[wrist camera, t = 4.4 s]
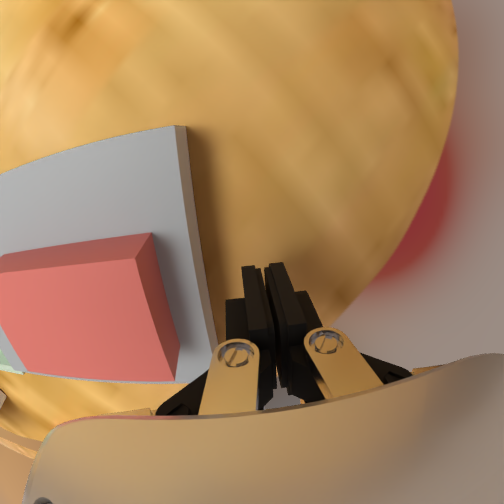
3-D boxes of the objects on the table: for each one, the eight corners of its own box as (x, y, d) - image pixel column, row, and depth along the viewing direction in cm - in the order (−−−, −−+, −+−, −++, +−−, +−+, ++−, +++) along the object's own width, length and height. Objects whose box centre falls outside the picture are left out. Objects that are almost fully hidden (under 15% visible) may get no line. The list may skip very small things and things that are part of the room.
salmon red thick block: (3, 254, 11) (-23, 275, 8) (151, 232, 11) (134, 258, 9) (43, 344, 13) (27, 371, 11) (180, 345, 13) (174, 381, 11)
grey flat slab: (-30, 189, 11) (-58, 203, 9) (186, 126, 12) (174, 125, 9) (29, 345, 17) (14, 370, 14) (218, 346, 17) (218, 381, 15)
